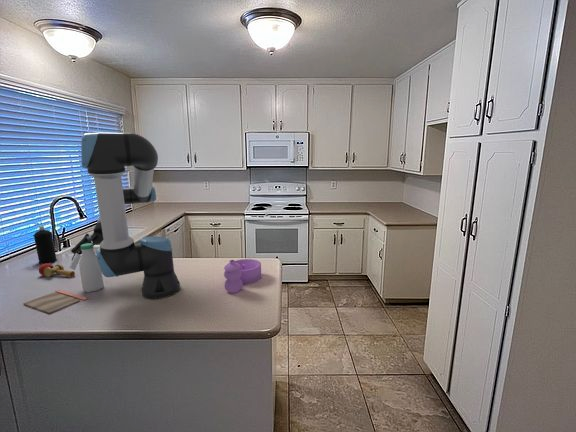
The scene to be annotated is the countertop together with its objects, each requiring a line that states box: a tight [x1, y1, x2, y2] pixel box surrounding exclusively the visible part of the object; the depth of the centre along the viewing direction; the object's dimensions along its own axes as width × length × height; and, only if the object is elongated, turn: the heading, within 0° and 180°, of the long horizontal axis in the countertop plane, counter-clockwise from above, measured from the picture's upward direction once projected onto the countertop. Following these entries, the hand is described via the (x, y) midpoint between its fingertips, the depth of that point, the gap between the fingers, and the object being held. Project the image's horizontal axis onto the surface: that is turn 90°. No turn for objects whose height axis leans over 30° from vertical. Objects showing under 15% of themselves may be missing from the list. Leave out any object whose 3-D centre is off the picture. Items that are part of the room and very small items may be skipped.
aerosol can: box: [33, 225, 58, 265], centre depth 172 cm, size 8×8×20 cm
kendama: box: [38, 263, 76, 278], centre depth 153 cm, size 8×6×18 cm
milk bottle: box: [78, 242, 104, 293], centre depth 136 cm, size 8×8×20 cm
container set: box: [223, 258, 262, 294], centre depth 139 cm, size 25×15×13 cm, turn 168°
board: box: [23, 291, 81, 315], centre depth 125 cm, size 18×11×1 cm, turn 64°
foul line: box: [54, 289, 89, 302], centre depth 131 cm, size 20×2×1 cm, turn 64°
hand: (86, 268), depth 134 cm, fingers open, 13 cm apart
